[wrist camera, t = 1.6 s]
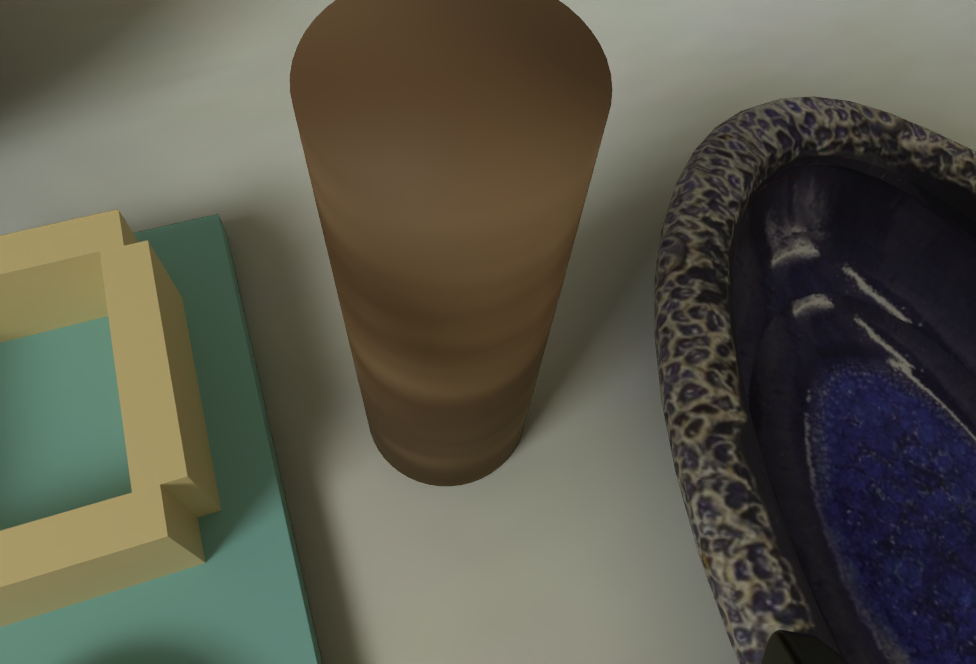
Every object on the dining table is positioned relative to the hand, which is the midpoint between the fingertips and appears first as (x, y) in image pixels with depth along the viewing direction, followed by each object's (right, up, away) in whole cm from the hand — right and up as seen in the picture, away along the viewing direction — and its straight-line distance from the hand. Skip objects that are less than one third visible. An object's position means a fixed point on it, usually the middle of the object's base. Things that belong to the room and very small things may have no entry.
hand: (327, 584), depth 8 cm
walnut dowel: (0, 0, +15) cm, 15 cm away
